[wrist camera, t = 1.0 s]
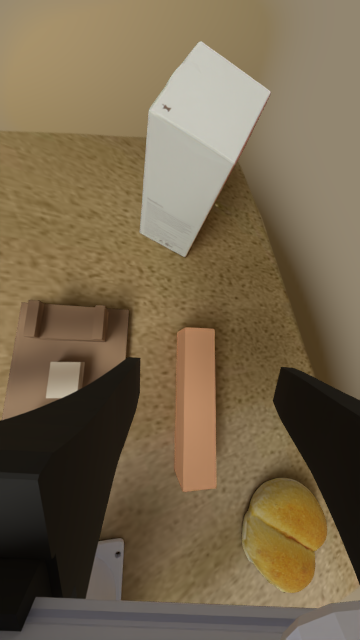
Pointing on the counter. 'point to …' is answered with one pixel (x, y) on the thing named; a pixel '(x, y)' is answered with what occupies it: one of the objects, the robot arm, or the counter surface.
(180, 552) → the counter surface
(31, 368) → the stand
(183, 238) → the small box
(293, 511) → the bread roll
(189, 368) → the bar
